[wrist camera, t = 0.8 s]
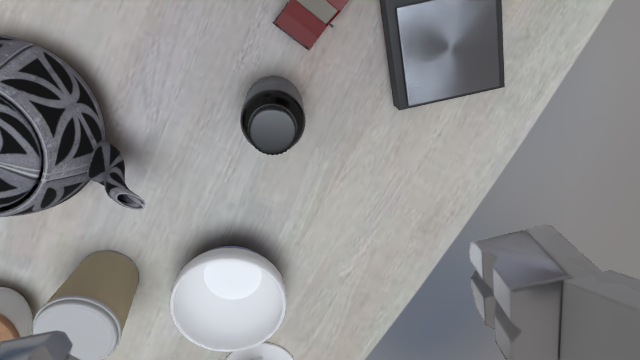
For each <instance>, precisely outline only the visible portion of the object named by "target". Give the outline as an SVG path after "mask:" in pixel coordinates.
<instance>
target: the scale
mask: <svg viewBox="0 0 640 360" xmlns="http://www.w3.org/2000/svg"><path fill="white" fill-rule="evenodd" d="M380 6H381V13H382V20H383V28H384V35H385V42H386V50H387V57H388V64H389V72H390V79H391V86H392V94H393V101H394V106H395V107H396V108H397V109H398V110H403V109H407V108H412V107H417V106H421V105H426V104H430V103H435V102H439V101H444V100H448V99H453V98H457V97H462V96H466V95H471V94H475V93H480V92H484V91H489V90H493V89H498V88H502V87H504V58H503V31H502V4H501V0H380Z"/></svg>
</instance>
